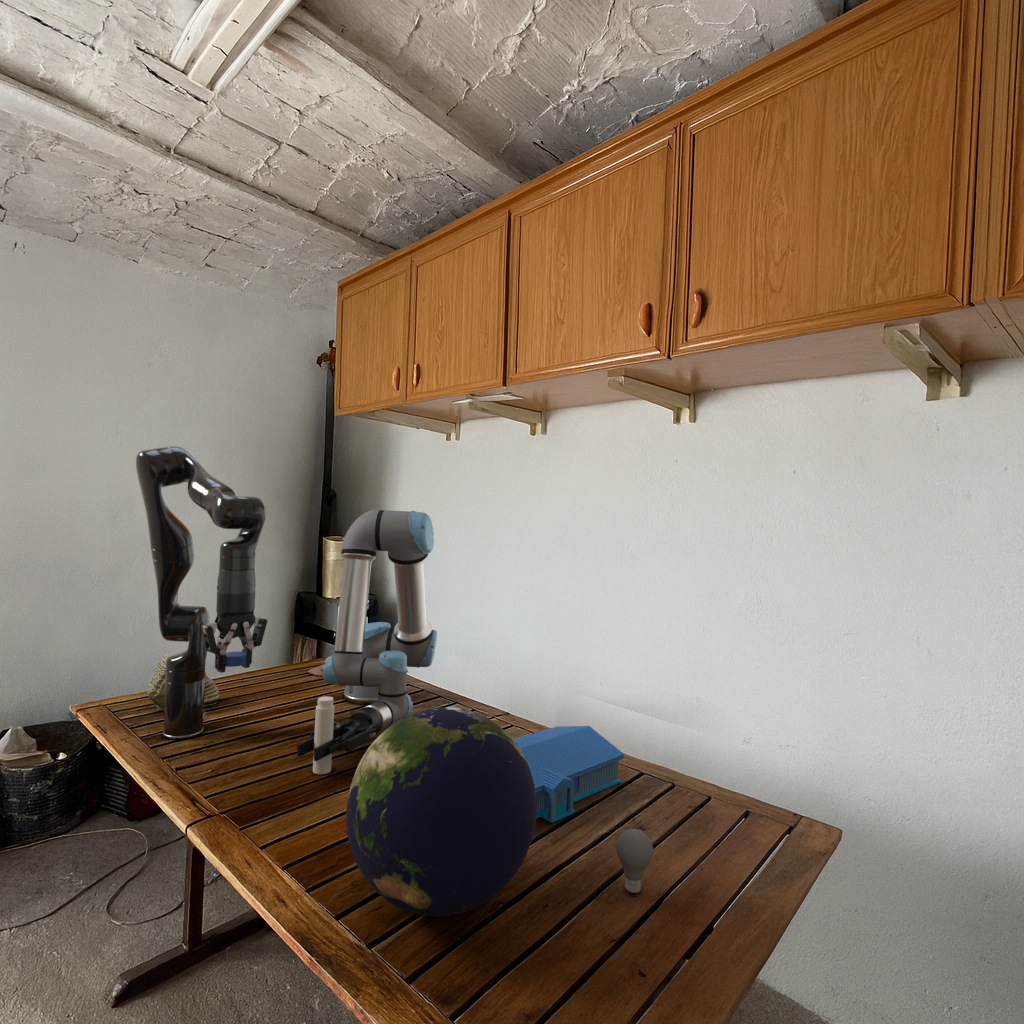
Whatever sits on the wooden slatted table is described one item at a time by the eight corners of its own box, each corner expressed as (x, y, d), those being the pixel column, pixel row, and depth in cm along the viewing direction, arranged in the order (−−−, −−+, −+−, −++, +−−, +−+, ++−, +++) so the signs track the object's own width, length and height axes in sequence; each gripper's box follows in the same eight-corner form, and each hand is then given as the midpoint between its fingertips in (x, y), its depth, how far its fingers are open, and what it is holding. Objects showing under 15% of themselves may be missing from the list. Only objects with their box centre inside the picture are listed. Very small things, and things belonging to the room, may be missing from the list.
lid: (248, 665, 134) (249, 655, 134) (223, 668, 131) (224, 658, 131) (243, 659, 138) (243, 650, 138) (218, 662, 135) (218, 652, 135)
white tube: (309, 773, 145) (313, 700, 145) (317, 766, 149) (321, 695, 149) (326, 775, 144) (330, 701, 144) (334, 768, 148) (337, 696, 148)
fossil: (144, 707, 182) (145, 655, 182) (212, 696, 194) (213, 647, 194) (151, 716, 175) (153, 662, 175) (221, 703, 188) (223, 653, 188)
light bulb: (610, 879, 108) (613, 822, 108) (644, 879, 109) (647, 822, 109) (619, 902, 102) (622, 840, 102) (655, 901, 103) (658, 840, 103)
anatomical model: (304, 662, 222) (320, 655, 233) (303, 674, 222) (320, 665, 234) (339, 666, 220) (353, 658, 231) (338, 677, 220) (353, 669, 231)
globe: (300, 927, 93) (307, 725, 93) (407, 832, 121) (414, 676, 120) (484, 995, 82) (495, 765, 81) (556, 873, 110) (564, 701, 109)
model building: (505, 843, 118) (507, 790, 118) (429, 794, 136) (431, 748, 136) (632, 786, 145) (634, 743, 144) (555, 752, 163) (557, 713, 163)
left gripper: (212, 595, 127) (209, 679, 127) (276, 589, 138) (273, 666, 138) (194, 590, 131) (191, 672, 132) (258, 585, 143) (255, 660, 143)
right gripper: (397, 741, 159) (337, 777, 138) (342, 729, 166) (276, 761, 145) (398, 712, 159) (338, 743, 138) (343, 701, 166) (277, 728, 145)
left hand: (233, 669), depth 135 cm, fingers closed on lid, 4 cm apart
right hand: (307, 752), depth 141 cm, fingers closed on white tube, 4 cm apart
